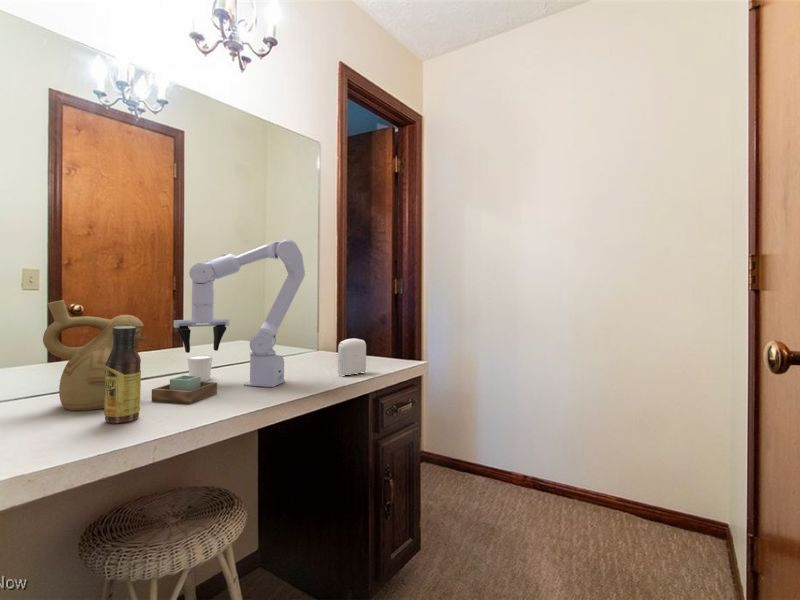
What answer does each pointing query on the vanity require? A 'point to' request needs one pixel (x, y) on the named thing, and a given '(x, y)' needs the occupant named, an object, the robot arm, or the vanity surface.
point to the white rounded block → (200, 366)
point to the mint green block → (185, 383)
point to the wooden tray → (184, 393)
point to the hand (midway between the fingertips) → (202, 351)
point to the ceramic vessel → (85, 356)
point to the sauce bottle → (122, 378)
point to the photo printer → (351, 356)
